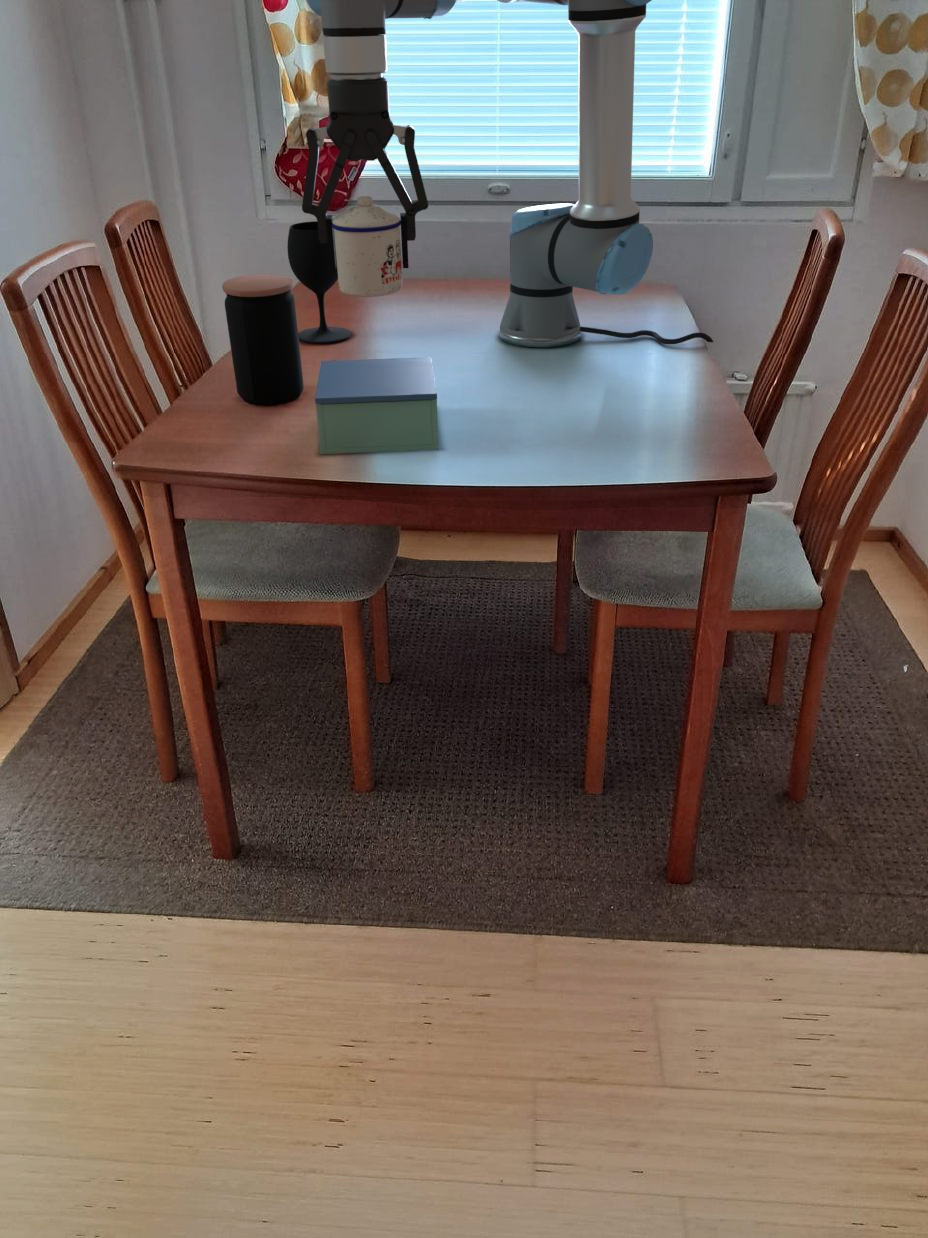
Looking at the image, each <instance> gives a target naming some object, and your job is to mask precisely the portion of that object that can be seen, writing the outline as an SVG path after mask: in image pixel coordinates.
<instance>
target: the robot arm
mask: <svg viewBox="0 0 928 1238" xmlns="http://www.w3.org/2000/svg"><path fill="white" fill-rule="evenodd" d="M305 1H306V4H307V5H308V6H309V8H310V9H311V10H312V12H313V13H315V15H317V16H319V17H321V25H322V41H323V52H324V54H323V55H324V65H325V73H326V74H327V75H330V77H331V78H329V79H328V80H327V81H328V82H326V89H327V90H326V91H327V100H328V101H327V103H328V113H329V114H328V115H329V119H328V123H327V125H326V126H324V127H323V126H322V127H317V128H315V127H309V128H307V130H306V132H305V137H306V142H307V147H308V155H307V164H306V171H305V179H304V186H303V196H302V203H301V211H302V212H303V213H304V214H309V215H312V216H314V217H315V218H316V221H317V223H318V234H319V241H320V243H328V251H329V263H330V271H336V254H335V242H334V230H333V227H332V223H333V222H332V221H333V219H334V218H333V214H328V213H327V212H328V209H329V207H330V205H331V202H332V199H333V197H334V194H335V192H336V190H337V186H338V184H339V182H340V179H341V176H342V173H343V171H344V169H345V167H346V163H347V162H348V161H350V162H359V161H360V160H364V161H369V162H370V161H371V162H372V161H375V160H377V161H378V163H379V164H380V167H381V168H382V170H383V172H384V174H385V175H386V177H387V179H388V181H389V183H390V186H391V187H392V189H393V191H394V193H395V194H396V197H397V198H398V200H399V202H400V204H401V206H402V208H403V210H404V212H400V213H399V214H400V215H399V218H400V221H401V225H400V242H401V263H402V269H410V267H409V246H408V241H409V242H413V241H416V237H417V234H416V233H417V229H416V215H417V214H418V213H420V212H421V211H425V210H427V209H428V208H429V201H428V197H427V193H426V190H425V186H424V181H423V178H422V174H421V170H420V166H419V162H418V158H417V154H416V149H415V140H416V139H415V138H416V131H415V127H414V126H413V125H411V124H408V125H395V124H394V122H393V121H392V119H391V116H390V115H391V114H390V95H389V93H390V92H389V81H388V80H387V78H385V77H384V75H383V74H386V73H387V71H388V58H387V56H388V55H387V36H386V20H387V19H423V20H426V19H428V20H432V19H433V18H439V17H443V16H444V17H445V16H446V15H447V14H449V13H450V12H451V11H452V10H453V9H454V7H455V6H456V3H462V2H468V1H469V2H471V0H305ZM497 2H500V3H502V4H509V3H519V2H520V3H535V4H544V5H553V6H568V7H567V10H568V11H567V13H568V14H567V17H568V18H567V19H568V20H567V21H568V24H569V25H570V26H571V27H572V28H573V29H574V30H575V32H576V33H577V35H578V200H577V202H576V203H575V204H574V203H571V202H570V203H569V202H566V203H564V202H563V203H552V204H541V205H532V206H528V207H523V208H520V209H518V210H516V211H514V212H513V214H512V216H511V218H510V219H511V220H510V221H511V222H510V232H509V235H508V236H509V296H508V299H507V303H506V305H505V308H504V312H503V315H502V318H501V321H500V324H499V337H500V339H501V340H502V341H504V342H506V343H508V344H511V345H515V346H519V347H520V346H521V347H527V348H555V347H561V346H567V345H570V344H573V343H575V342H577V341H578V340H579V339H580V338H581V333H582V332H583V333H589V334H597V335H604V336H610V337H614V338H620V339H633V338H637V337H641V336H646V337H647V336H649V337H652V338H653V339H655V340H656V341H657V342H659V343H661V344H663V345H677V344H683V343H684V342H687V341H690V340H693V339H703V340H704V341H706V342H707V343H714V340H713V339H712V337H711V336H710V335H708V334H707V333H705V332H699V331H698V332H692V333H689V334H687V335H683V336H681V337H676V338H664V337H663V336H662V335H660V334H659V333H657V332H656V331H654V330H647V329H643V330H636V331H631V332H619V331H614V330H608V329H602V328H595V327H590V326H589V327H587V326H582V325H581V322H580V318H579V313H578V311H577V307H576V302H575V298H574V293H573V292H574V291H573V290H574V288H577V289H583V290H588V291H592V292H596V293H598V294H601V295H607V294H608V295H616V296H620V295H625V294H628V293H629V292H631V291H632V290H634V289H635V288H636V287H637V286H638V285H639V283H641V281H642V279H643V277H644V276H645V274H646V273H647V271H648V268H649V266H650V263H651V259H652V257H653V251H654V249H653V248H654V238H653V234H652V232H651V230H650V228H649V227H648V226H646V225H644V223H640V213H641V212H640V205H638V204H637V203H636V202H635V201H634V199H633V197H632V169H633V166H632V163H633V131H634V127H633V126H634V125H633V124H634V98H635V97H634V94H635V93H634V90H635V59H636V58H635V56H636V51H635V50H636V31H637V28H638V27H639V26H640V24H642V22H643V21H644V19H646V17H647V4H649V3H650V2H652V0H497ZM393 136H396V137H397V139H398V140H397V141H398V143H399V144H400V145H402V146H404V152H405V156H406V160H407V165H408V168H409V171H410V177H411V180H412V183H413V188H414V191H415V195H416V199H415V200H413V201H412V199H411V197H410V196H409V194H408V193H409V192H407V189H406V188H405V185H404V184H403V182H402V179H401V178H400V176H399V175H398V172H397V170H396V169H395V166H394V165H393V163H392V160H391V159H390V156H389V155H388V153H387V151H386V148H387V146H388V145H389V143H390V141H391V139H392V137H393ZM327 137H328V138H329V139H330V141H331V142H332V143H333V144H334V146H335V147H336V149H337V150H338V153H337V156H336V159H335V162H334V164H333V167H332V168H331V172H330V175H329V177H328V179H327V182H326V184H325V188H324V190H323V194H322V196H321V198H320V200H319V204H318V203H316V202H314V198H315V197H314V196H315V189H316V180H317V173H318V166H319V165H318V163H319V157H320V148H321V147H323V146H324V144H325V139H326V138H327Z"/></svg>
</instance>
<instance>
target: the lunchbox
mask: <svg viewBox="0 0 928 1238" xmlns="http://www.w3.org/2000/svg"><path fill="white" fill-rule="evenodd" d="M315 409H316V418H317V427H318V429H317V430H318V437H319V438H318V439H319V449H320V455H335V454H336V455H337V454H360V453H361V454H363V453H385V452H386V453H387V452H408V451H410V452H411V451H431V450H432V451H433V450H434V451H435V450H439V424H438V422H439V421H438V420H439V419H438V398H437V399H430V400H404V401H379V402H353V403H328V404H315Z"/></svg>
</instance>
